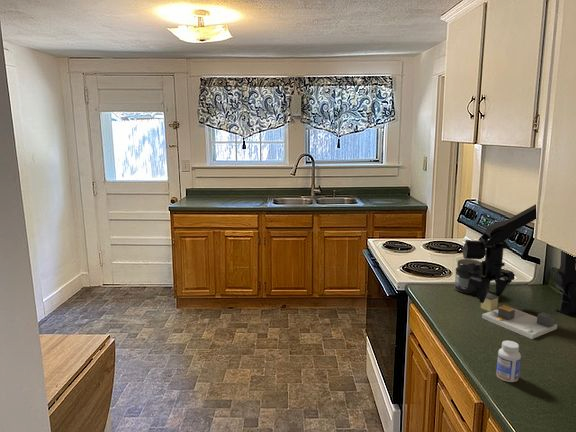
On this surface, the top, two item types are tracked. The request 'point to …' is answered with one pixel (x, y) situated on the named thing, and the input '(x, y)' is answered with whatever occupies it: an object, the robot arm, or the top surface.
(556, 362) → the top surface
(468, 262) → the supplement container
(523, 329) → the panel
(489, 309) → the block
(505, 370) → the pill bottle
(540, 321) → the plain toggle
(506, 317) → the tagged toggle
